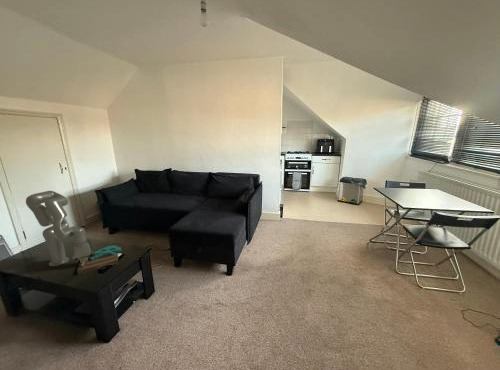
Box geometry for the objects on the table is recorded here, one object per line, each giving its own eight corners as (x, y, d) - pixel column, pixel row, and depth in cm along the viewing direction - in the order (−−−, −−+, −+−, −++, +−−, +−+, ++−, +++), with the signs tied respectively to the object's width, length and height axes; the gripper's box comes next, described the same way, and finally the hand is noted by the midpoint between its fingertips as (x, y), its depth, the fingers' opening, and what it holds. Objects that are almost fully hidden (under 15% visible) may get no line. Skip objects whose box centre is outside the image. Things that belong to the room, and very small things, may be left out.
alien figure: (117, 256, 184) (123, 246, 202) (116, 254, 183) (122, 243, 202) (90, 261, 178) (98, 249, 196) (89, 258, 177) (98, 247, 196)
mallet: (81, 263, 173) (80, 256, 172) (89, 262, 176) (87, 254, 174) (79, 272, 162) (77, 264, 160) (87, 270, 164) (85, 262, 163)
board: (80, 266, 169) (79, 263, 169) (118, 257, 182) (117, 253, 182) (77, 274, 159) (77, 271, 159) (118, 263, 172) (117, 260, 172)
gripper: (66, 247, 161) (71, 269, 165) (93, 242, 170) (97, 262, 174) (68, 243, 167) (72, 264, 171) (94, 238, 176) (98, 258, 180)
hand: (85, 263), depth 172 cm, fingers closed on mallet, 5 cm apart
